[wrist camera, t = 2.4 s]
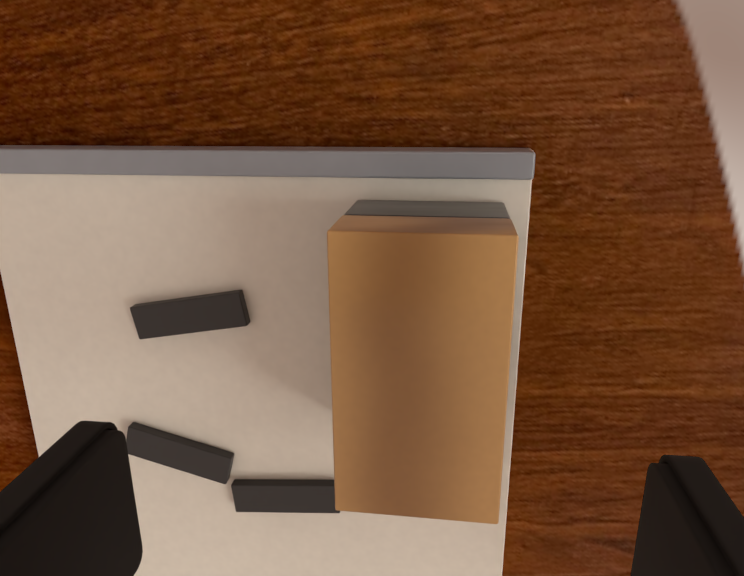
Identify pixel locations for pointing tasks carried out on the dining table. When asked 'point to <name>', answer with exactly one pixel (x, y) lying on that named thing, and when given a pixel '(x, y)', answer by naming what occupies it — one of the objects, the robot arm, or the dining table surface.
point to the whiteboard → (227, 333)
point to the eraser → (421, 356)
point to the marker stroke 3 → (284, 495)
